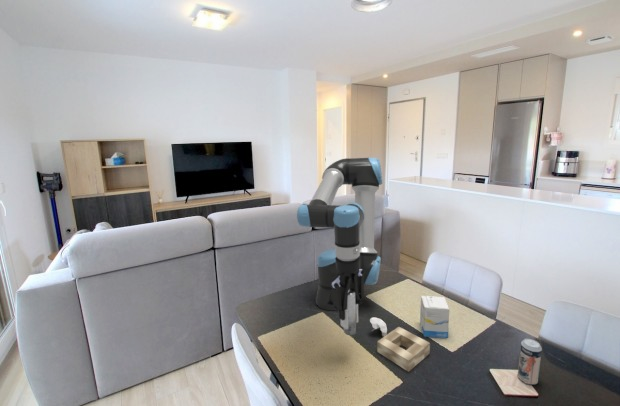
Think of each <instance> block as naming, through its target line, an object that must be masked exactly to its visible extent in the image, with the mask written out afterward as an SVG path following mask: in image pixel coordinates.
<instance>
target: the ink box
mask: <svg viewBox="0 0 620 406" xmlns="http://www.w3.org/2000/svg"><path fill="white" fill-rule="evenodd" d="M449 321H450V308H449V305H448V303H447V300H446V297H444V296H436V295H435V296H433V295H431V296H430V295H420V312H419V325H420V328H421V331H422V335H423V337H425V338H427V337H428V338H436V339H437V338H439V339H448V338H449V325H450V324H449Z"/></svg>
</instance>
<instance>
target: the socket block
mask: <svg viewBox="0 0 620 406" xmlns="http://www.w3.org/2000/svg"><path fill="white" fill-rule="evenodd" d="M376 344H377V347H376V350H377V351H376V352H377V353H378V354H380V355H382V356H383V357H384V358H386V359H387V360H389V361H391V362H392V363H394V364H396V365H397V366H399V367H400V368H402V369H403V370H404V371H406V372H408V373H409V372H411V371H412V370H413V369H414V368H415V367H417V365H418V364H420V363H421V362H422V361H423V360H424V359H425V358H427V356H429V355H430V352H431V350H430V349H431V342H429V341H427V340H426V339H424V338H421V337H419V336H417V335H416V334H415V333H414V334H413V333H412V332H410V331H408V330H406V329H404V328H403V327H400V326H398V327H396V328H395V329H393V330H391V331H390V332H389V333H387V335H386V336H384V337H383V336H382V337H381V338H380V339H378V340H377V342H376ZM400 346H402V347H400ZM403 347H404V348H403Z"/></svg>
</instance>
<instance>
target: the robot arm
mask: <svg viewBox="0 0 620 406" xmlns="http://www.w3.org/2000/svg"><path fill="white" fill-rule="evenodd" d="M381 167H382V166H381V161H380V159H379V158H377V157H357V158H355V157H353V158H349V157H348V158H341V159H338V160H336V161H334V162H333V163H331V164H330V165H328V166H327V167H326V169H324V172H323V173H322V176H321V179H322V180H321V182H320V183H319V185H318V187H317V188H316V191H315V192H314V194H313V196H312V198H311V200H310V202H309V203H308V204H301V205H299V206H298V208H297V211H296V212H297V213H296V219H297V223H298V225H299V226H301V227H308V228H329V229H330V228H331V229H332V228H334V230H333V232H334V249H328V250H327V249H326V250H325V251H323V252H321V253H319V255H318V256H317V272H318V273H317V274H318V275H317V276H318V288H317V292H316V294H315V305H316V306H317V305H318V306H317V307H319V308H320V309H323V310H326V311H337V312H338V318H339V319H340V326H341V327H342V328H343V329H344V328H345V329H348V310H347V309H346V304H347V295H348V290H349V289H352V290H354V291H355V306H356V324H358V323H359V310H360V305H361V304H363V301H362V300H364V298H365V285H375V284H377V283H378V279H379V275H380V269H381V262H382V261H381V260H382V258H381V256H379V255H378V251H377V250H376V249H375V223H376V221H375V216H376V215H375V214H376V213H375V212H376V192H378V190H379V189H380V186H381V185H382V184H383V175H382V168H381ZM344 185H348V186H349V185H351V189H352V190H353V191H354V202H351V203H347V204H345V205H344V204H343V205H340V204H339V205H336V204H335V205H334V204H333V202H334V200H335V197H336V195H337V192H338V190H339V188H342V186H344ZM332 204H333V205H332Z"/></svg>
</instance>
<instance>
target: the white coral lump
mask: <svg viewBox="0 0 620 406" xmlns="http://www.w3.org/2000/svg"><path fill="white" fill-rule="evenodd" d="M369 322H370V323H371V325H372V326H371V327H372V328H373V329H372V330H371V332H374V331H375V330H378V329H379V330H380V331H381V336H382V338H383V337H384V336H386V335H387V334H388V333H387V332H388V328H387V324H386V322H385V321H383V320H382V319H381V318H378V317H371V318H370V319H369Z"/></svg>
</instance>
